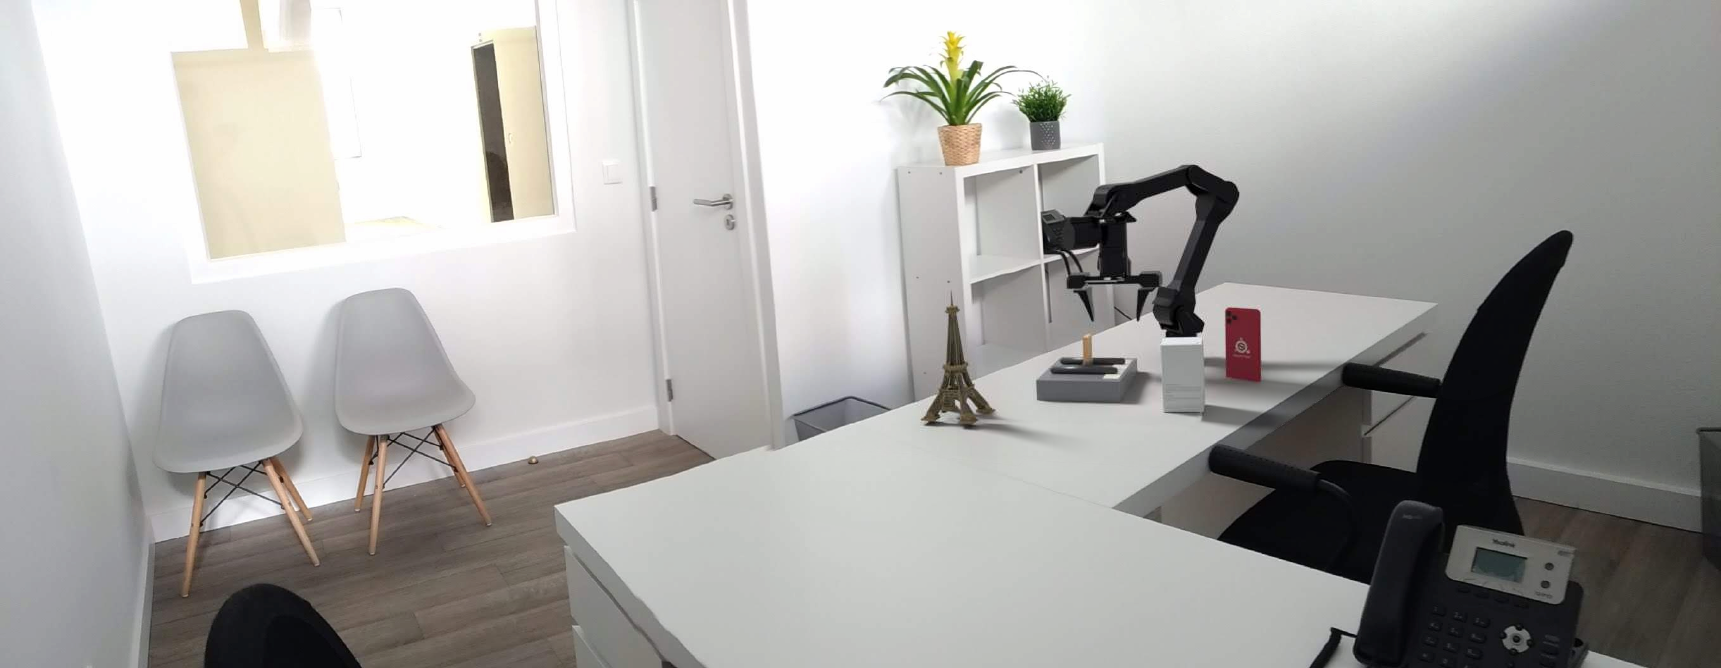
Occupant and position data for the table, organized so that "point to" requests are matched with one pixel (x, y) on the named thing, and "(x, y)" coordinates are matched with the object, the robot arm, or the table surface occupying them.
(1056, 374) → the breaker panel
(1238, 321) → the smartphone
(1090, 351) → the breaker lever
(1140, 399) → the table surface
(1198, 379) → the supplement box
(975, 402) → the eiffel tower
